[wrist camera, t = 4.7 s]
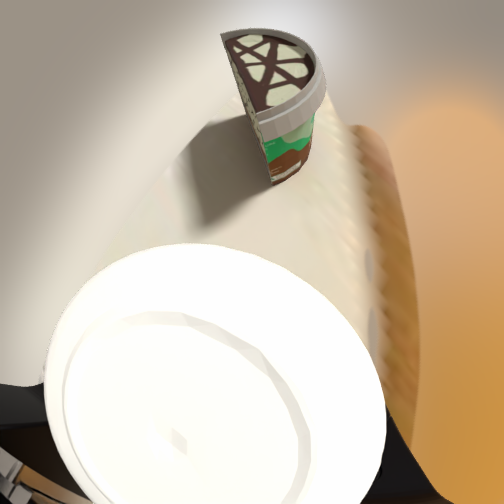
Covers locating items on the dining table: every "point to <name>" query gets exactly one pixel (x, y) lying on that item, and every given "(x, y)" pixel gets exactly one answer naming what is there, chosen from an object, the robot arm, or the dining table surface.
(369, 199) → the dining table surface
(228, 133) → the dining table surface
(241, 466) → the sprinkles bottle
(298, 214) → the dining table surface
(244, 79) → the food container
